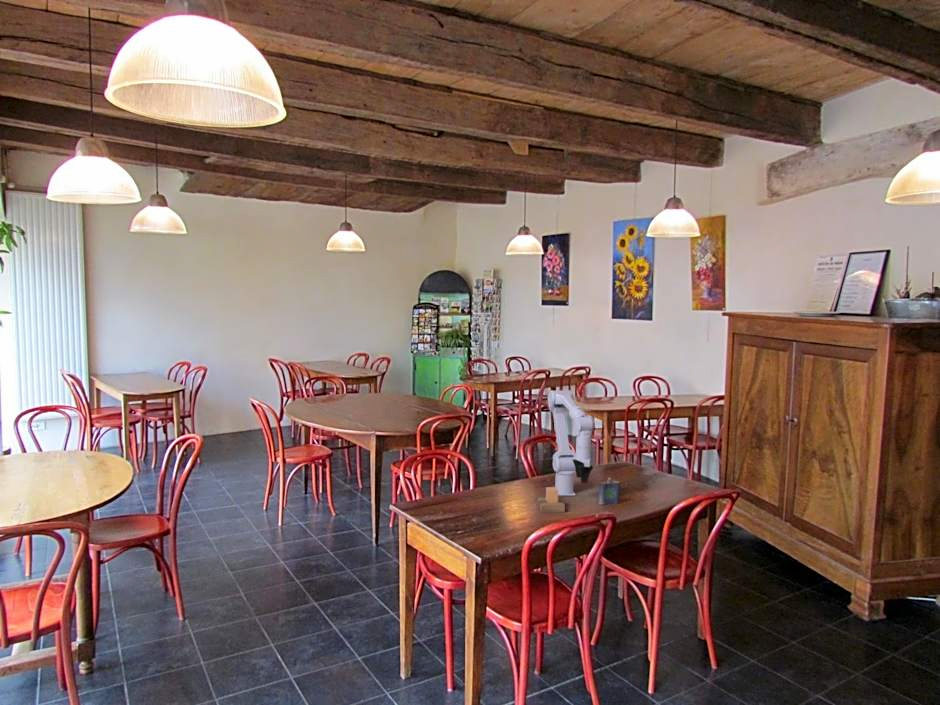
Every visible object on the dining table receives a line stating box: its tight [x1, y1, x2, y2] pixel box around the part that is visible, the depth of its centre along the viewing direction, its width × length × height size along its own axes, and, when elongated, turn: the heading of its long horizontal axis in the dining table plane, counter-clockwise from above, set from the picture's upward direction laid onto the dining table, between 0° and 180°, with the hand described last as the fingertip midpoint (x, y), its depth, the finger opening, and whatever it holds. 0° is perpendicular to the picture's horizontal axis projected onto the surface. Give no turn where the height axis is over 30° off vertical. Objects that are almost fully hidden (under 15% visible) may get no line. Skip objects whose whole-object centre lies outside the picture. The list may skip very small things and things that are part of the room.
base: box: [537, 497, 566, 513], centre depth 253 cm, size 9×9×3 cm
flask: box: [597, 477, 621, 506], centre depth 261 cm, size 9×3×11 cm, turn 109°
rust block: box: [545, 486, 559, 503], centre depth 253 cm, size 4×4×5 cm
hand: (581, 479), depth 258 cm, fingers open, 7 cm apart
